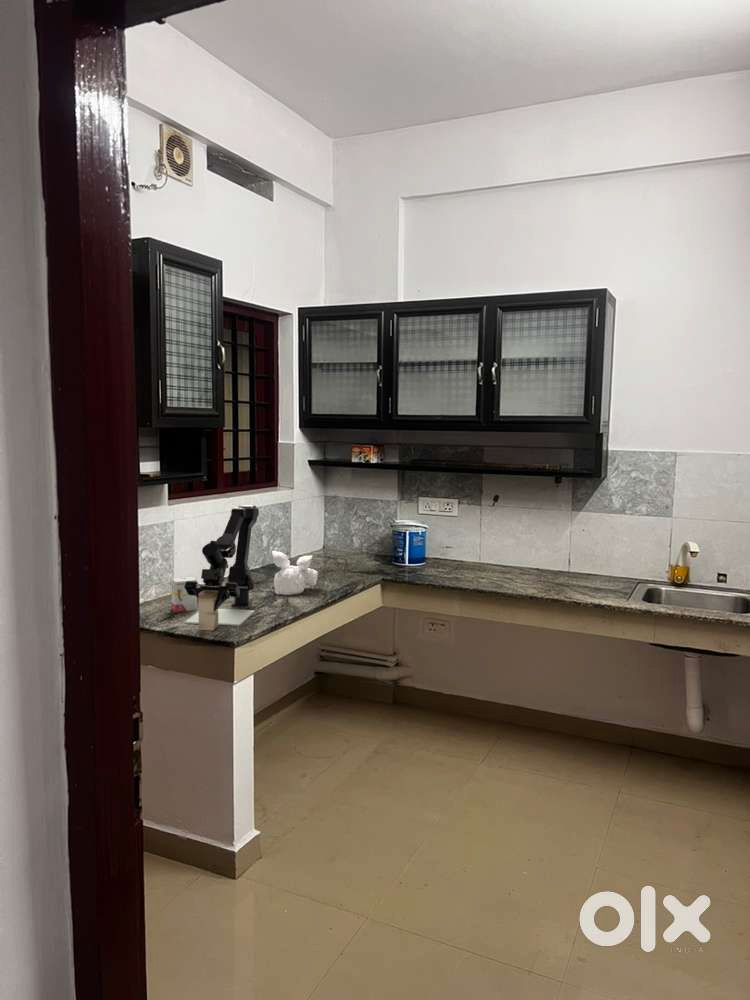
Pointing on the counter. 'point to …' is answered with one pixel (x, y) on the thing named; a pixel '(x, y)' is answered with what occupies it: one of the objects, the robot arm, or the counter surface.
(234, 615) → the sage mat
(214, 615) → the birch block
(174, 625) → the counter surface
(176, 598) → the ink box
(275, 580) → the white tied bag bundle
